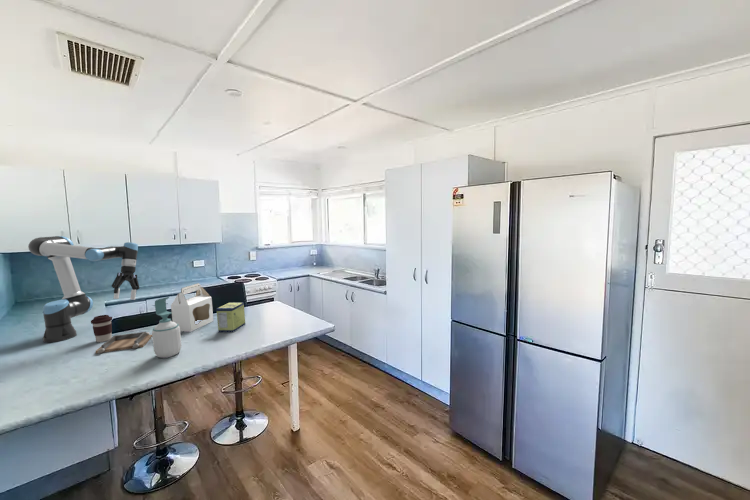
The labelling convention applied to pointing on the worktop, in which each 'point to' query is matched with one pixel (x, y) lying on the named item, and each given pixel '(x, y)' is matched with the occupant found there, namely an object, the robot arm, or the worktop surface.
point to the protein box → (230, 317)
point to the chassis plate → (125, 342)
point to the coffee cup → (102, 327)
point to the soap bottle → (165, 333)
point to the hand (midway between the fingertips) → (124, 299)
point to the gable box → (192, 308)
